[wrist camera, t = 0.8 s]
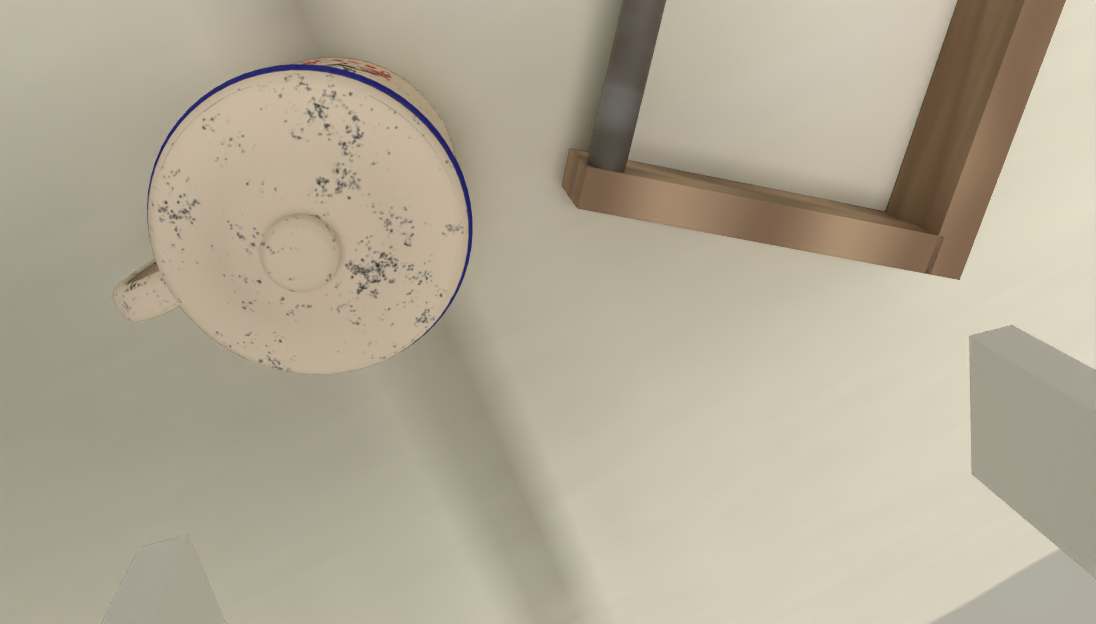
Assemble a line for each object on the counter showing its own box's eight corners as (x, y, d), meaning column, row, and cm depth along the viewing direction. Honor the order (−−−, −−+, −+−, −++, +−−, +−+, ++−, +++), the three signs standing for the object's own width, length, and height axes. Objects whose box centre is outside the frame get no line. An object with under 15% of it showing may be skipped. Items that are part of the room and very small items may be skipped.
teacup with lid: (394, 6, 31) (371, 6, 20) (502, 227, 34) (534, 331, 23) (99, 150, 31) (-83, 227, 20) (234, 355, 34) (140, 517, 23)
